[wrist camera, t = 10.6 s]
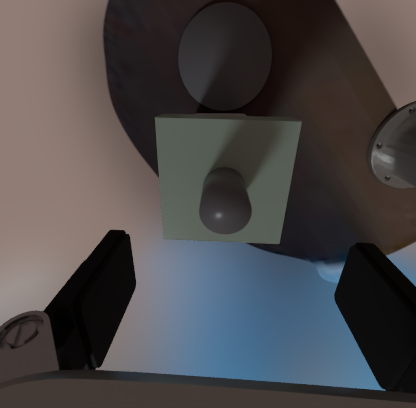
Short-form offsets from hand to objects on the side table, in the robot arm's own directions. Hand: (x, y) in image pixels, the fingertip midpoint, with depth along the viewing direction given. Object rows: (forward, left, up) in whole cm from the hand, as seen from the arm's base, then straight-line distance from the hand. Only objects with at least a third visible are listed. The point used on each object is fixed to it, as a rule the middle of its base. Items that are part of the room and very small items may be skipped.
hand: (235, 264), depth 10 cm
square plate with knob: (0, 0, -11) cm, 11 cm away
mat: (0, -10, -28) cm, 30 cm away
